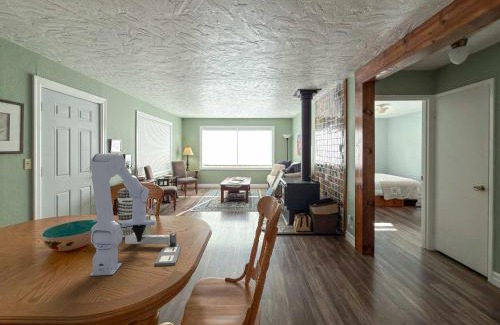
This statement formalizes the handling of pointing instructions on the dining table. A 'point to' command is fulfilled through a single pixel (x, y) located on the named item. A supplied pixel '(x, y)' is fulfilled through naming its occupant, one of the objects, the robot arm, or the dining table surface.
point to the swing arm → (148, 239)
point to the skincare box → (147, 227)
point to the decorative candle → (124, 211)
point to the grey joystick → (173, 241)
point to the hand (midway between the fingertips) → (139, 241)
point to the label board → (168, 256)
